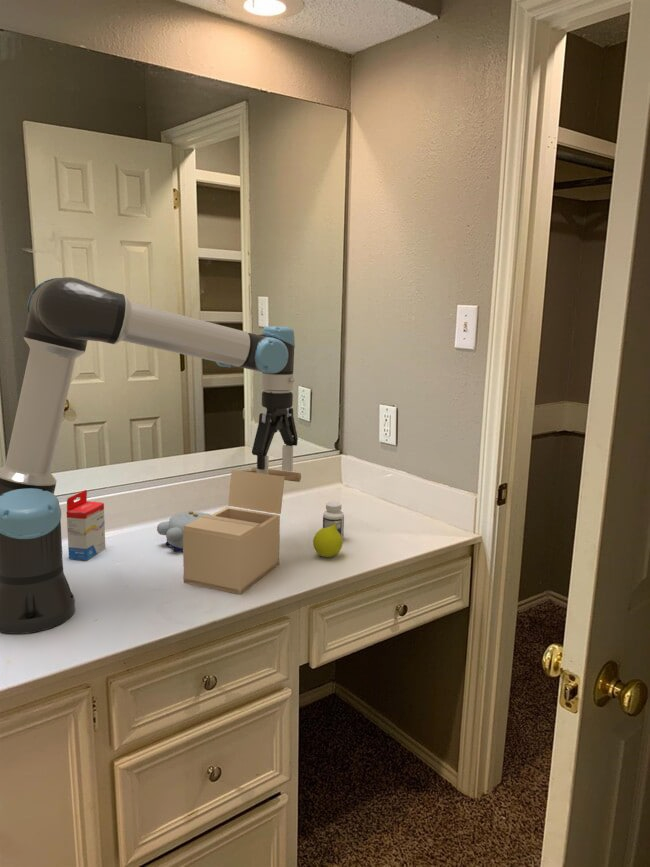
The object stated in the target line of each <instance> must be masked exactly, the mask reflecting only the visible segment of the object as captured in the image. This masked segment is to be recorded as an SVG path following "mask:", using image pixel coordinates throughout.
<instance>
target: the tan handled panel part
mask: <svg viewBox="0 0 650 867" xmlns="http://www.w3.org/2000/svg"><path fill="white" fill-rule="evenodd" d="M230 473H231V474H230V482H229V493H228V500H227V501H228V502H227V507H231V508H237V509H244V510H250V511H256V512H263V513H269V514H275V515H281V514H282V506H283V498H284V497H283V495H284V487H285V486H284V484H285V481H288V482H296V483H299V482H301V479H302V474H301V472H296V471H295V472H293V471H285V470H279V469H272V468H268V474H261V473H257V466H256V467H255V466H253V467H251V469H248V470H247V469H246V470H237V469H231V472H230Z"/></svg>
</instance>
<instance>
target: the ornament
mask: <svg viewBox="0 0 650 867" xmlns="http://www.w3.org/2000/svg"><path fill="white" fill-rule="evenodd" d="M336 524H337V522H336V521H335V523H334V524H333V525H332V526H331V527H326V528H323V527H322V528H320V529H318V531H317V532H316V533H315V534H314V536H313V540H312V545H313V549H314V550H315V552H316V554H318V555H319V556H321V557H324V558H331V557H334V556H337V554H339V553H340V552H341V549H342V548H343V541H342V537H341V535H340V533H339V532H338V530H337V528H336Z"/></svg>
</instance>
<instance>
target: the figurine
mask: <svg viewBox="0 0 650 867" xmlns="http://www.w3.org/2000/svg"><path fill="white" fill-rule="evenodd" d="M204 515H211V514H210V513H205V512H199V511H198V512H196V511H195V512H194V511H192V510H188V512H180V513H176V514H173V515H172V516H171V517H169V520H167V521H163V522H162V521H161V522H159V523H158V524H157V526H156V531H157V533H158V535H161V536H165V537H166V542H165V546H166V547H171V548H173V551H174V552H182V551H183V529H184V526H185V525H187V524H189V523H191V522H193V521H195V520H197V519H199V518H201V517H202V516H204Z"/></svg>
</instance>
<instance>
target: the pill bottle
mask: <svg viewBox="0 0 650 867" xmlns="http://www.w3.org/2000/svg"><path fill="white" fill-rule="evenodd" d="M335 521H336V522H337V524H336V528H337V530H338V532H339V533H340V535H341V537H342V542H343V541H344V526H345V525H344V523H345V514H344V512H343V511H342V503H341V502H337V501H329V502H326V503H325V511H324V512H323V514H322V528H326V527H331V526H332V525H333V524H334V523H335Z"/></svg>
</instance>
